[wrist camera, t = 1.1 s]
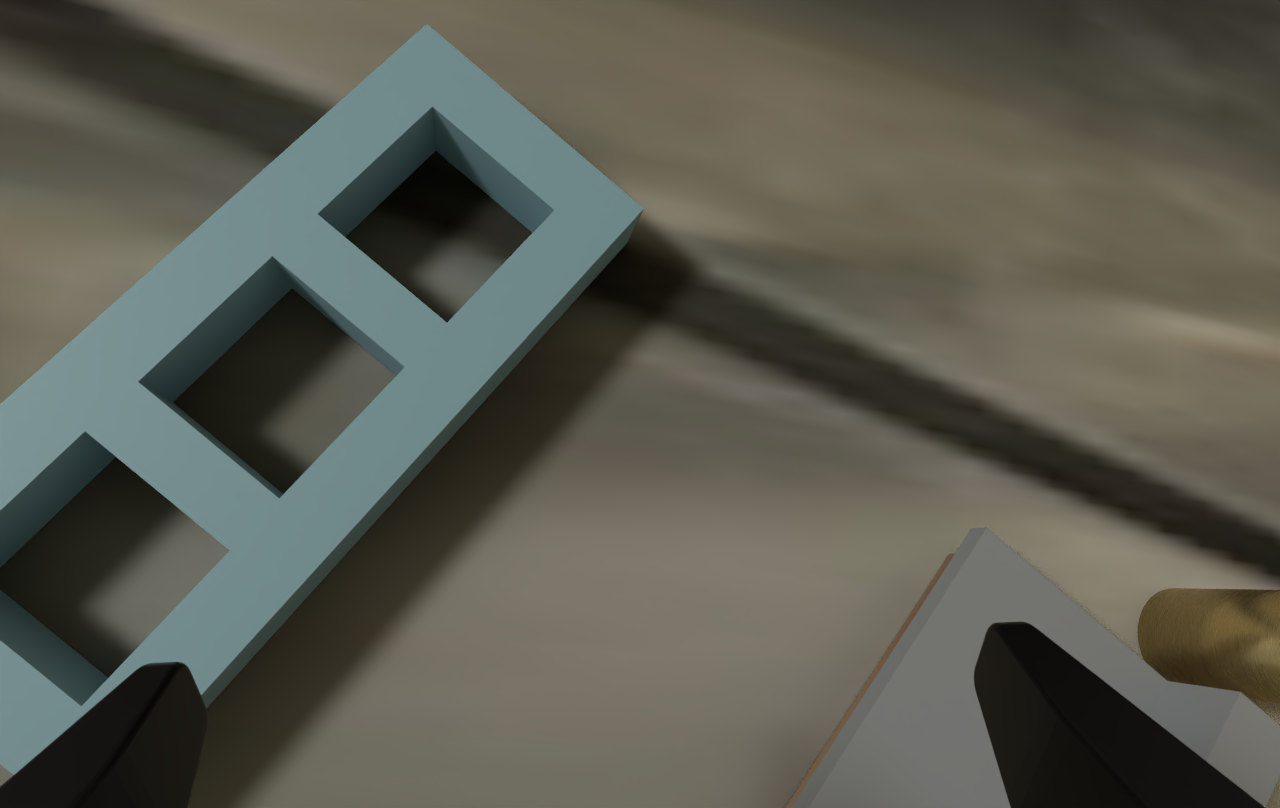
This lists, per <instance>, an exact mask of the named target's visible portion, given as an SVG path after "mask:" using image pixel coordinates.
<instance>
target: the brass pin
mask: <svg viewBox="0 0 1280 808" xmlns="http://www.w3.org/2000/svg"><path fill="white" fill-rule="evenodd" d="M1138 640H1139V646H1140V650H1141V653H1142V656H1143V658H1144V660H1145V662H1146V663H1147V664H1148V665H1149V666H1150V667H1152V668H1153V669H1154V670H1155V671H1156V672H1158V673H1159V674H1160V675H1161V676H1162V677H1163V678H1165V679H1166V680H1167V681H1171V682H1178V683H1184V684H1191V685H1198V686H1205V687H1211V688H1218V689H1225V690H1232V691H1238V692H1241V693H1243V694H1244V695H1245V696H1246V697H1247V698H1248V699H1250V700H1251V701H1257V702H1263V703H1270V704H1276V705H1280V590H1250V589H1189V588H1171V589H1166V590H1163V591H1160V592H1158V593H1157V594H1155V595H1154V596H1153V597H1151V598H1150V599H1149V601H1148V602H1147V603H1146V605H1145V606H1144V608H1143V610H1142V612H1141V615H1140V618H1139V624H1138Z"/></svg>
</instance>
